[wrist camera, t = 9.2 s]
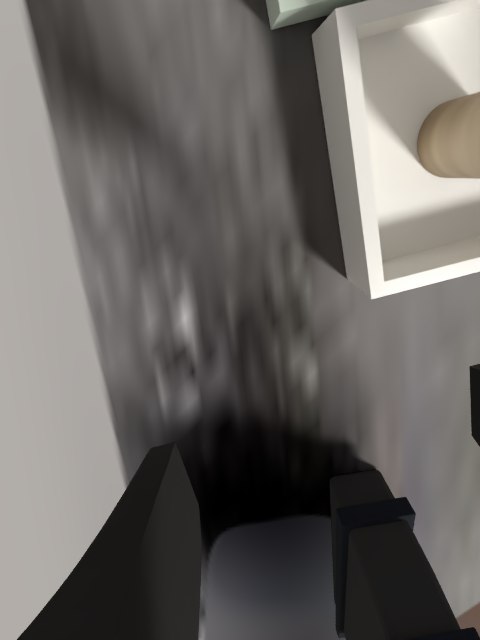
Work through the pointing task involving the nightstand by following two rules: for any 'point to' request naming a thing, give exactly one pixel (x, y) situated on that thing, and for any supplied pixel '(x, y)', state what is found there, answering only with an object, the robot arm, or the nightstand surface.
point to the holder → (301, 10)
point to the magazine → (383, 567)
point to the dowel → (452, 139)
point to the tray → (398, 138)
